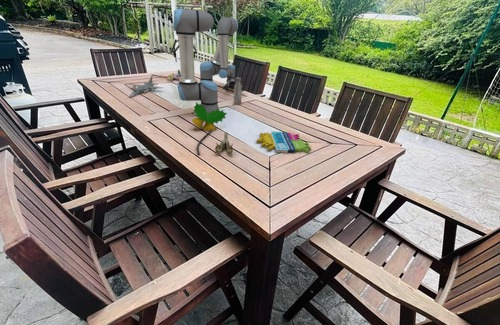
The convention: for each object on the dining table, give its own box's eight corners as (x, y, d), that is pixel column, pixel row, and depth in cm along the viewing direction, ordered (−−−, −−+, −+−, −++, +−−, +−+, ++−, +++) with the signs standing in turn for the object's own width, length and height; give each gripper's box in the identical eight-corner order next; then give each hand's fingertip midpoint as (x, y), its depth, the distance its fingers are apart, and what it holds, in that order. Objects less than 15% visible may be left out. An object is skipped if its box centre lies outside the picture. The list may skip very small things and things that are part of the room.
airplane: (123, 87, 237) (120, 75, 231) (158, 84, 250) (157, 74, 245) (127, 99, 208) (125, 87, 203) (167, 96, 221) (166, 84, 216)
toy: (193, 70, 288) (180, 75, 262) (193, 77, 292) (181, 82, 266) (170, 68, 293) (155, 72, 267) (170, 75, 297) (156, 79, 271)
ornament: (218, 133, 171) (224, 110, 169) (221, 134, 163) (227, 111, 161) (186, 125, 162) (192, 101, 160) (189, 126, 155) (195, 101, 153)
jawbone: (234, 135, 144) (233, 125, 135) (233, 160, 138) (232, 151, 129) (217, 135, 144) (216, 125, 135) (216, 160, 138) (214, 150, 129)
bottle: (235, 102, 218) (236, 77, 208) (242, 103, 217) (243, 78, 207) (232, 104, 213) (233, 78, 203) (239, 105, 211) (240, 79, 202)
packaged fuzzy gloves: (313, 150, 142) (258, 149, 139) (312, 153, 143) (258, 152, 140) (301, 132, 164) (254, 130, 161) (301, 134, 165) (254, 133, 162)
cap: (236, 80, 208) (236, 77, 207) (241, 80, 207) (242, 77, 206) (234, 81, 204) (234, 78, 203) (240, 82, 203) (240, 78, 202)
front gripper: (199, 33, 207) (199, 61, 218) (166, 31, 201) (168, 60, 211) (200, 34, 201) (200, 63, 211) (166, 32, 194) (168, 62, 205)
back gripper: (244, 88, 250) (249, 94, 232) (218, 88, 245) (221, 94, 227) (245, 80, 246) (249, 86, 228) (218, 80, 241) (221, 85, 223)
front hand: (184, 62), depth 211 cm, fingers open, 13 cm apart
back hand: (235, 90), depth 227 cm, fingers open, 13 cm apart
